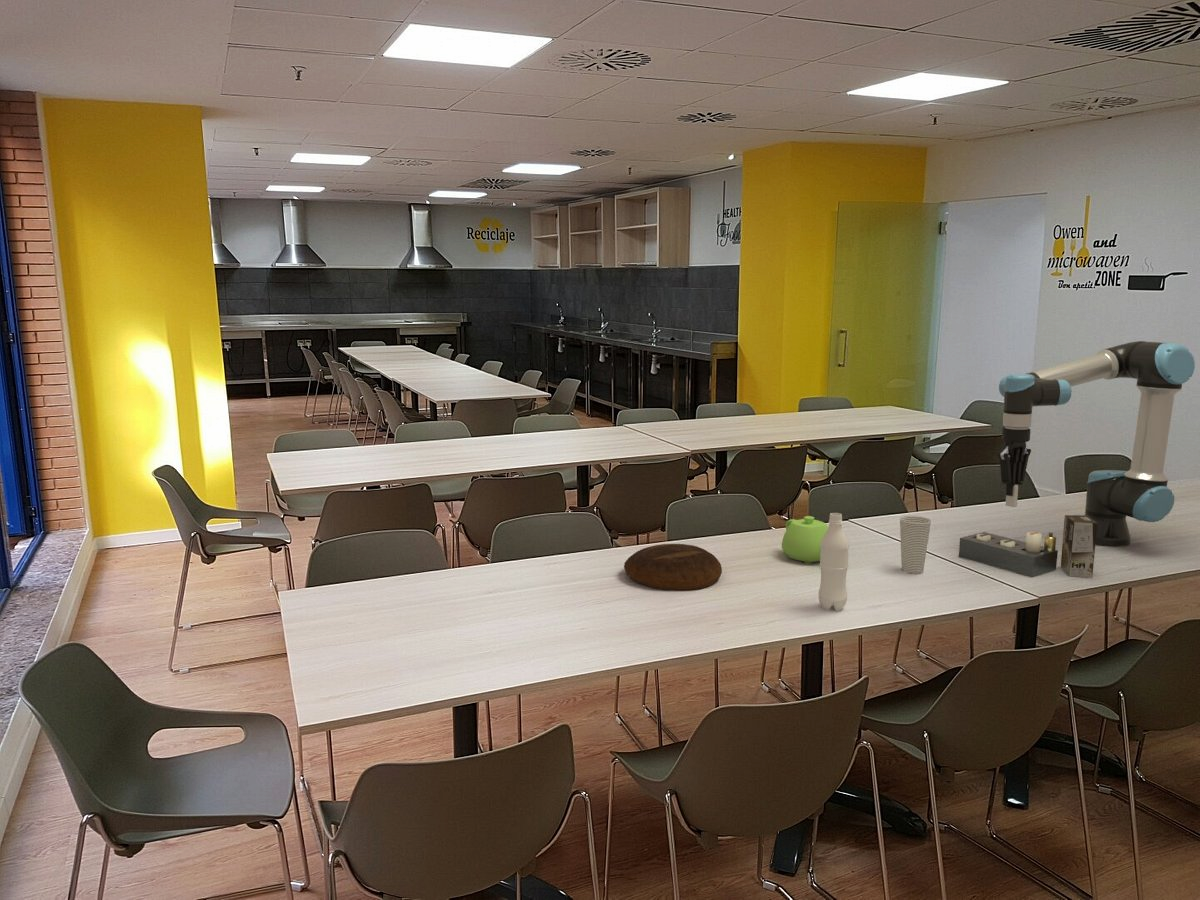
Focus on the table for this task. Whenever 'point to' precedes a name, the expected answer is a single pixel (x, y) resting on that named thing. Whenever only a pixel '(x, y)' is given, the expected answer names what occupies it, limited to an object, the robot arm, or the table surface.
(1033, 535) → the knob
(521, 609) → the table surface
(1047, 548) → the pepper mill
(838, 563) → the water bottle
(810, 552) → the teapot
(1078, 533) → the coffee box
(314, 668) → the table surface
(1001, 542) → the knob
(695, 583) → the bread
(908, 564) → the cup
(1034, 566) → the mount
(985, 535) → the knob
